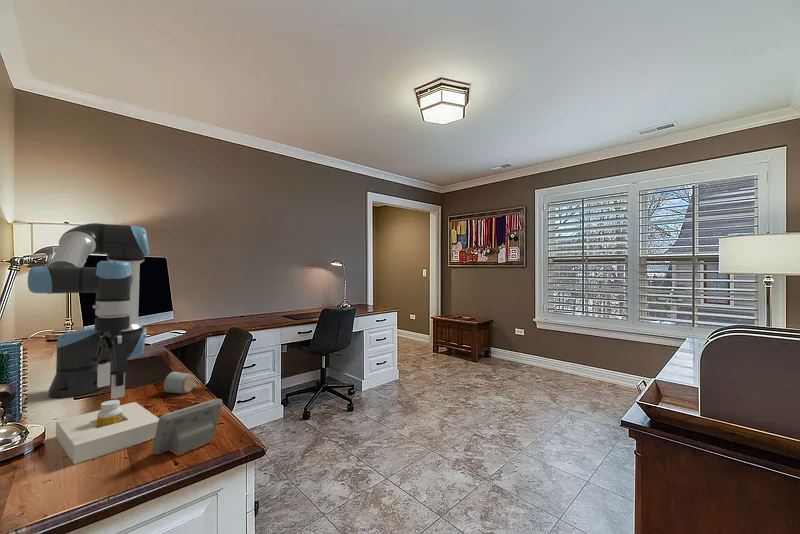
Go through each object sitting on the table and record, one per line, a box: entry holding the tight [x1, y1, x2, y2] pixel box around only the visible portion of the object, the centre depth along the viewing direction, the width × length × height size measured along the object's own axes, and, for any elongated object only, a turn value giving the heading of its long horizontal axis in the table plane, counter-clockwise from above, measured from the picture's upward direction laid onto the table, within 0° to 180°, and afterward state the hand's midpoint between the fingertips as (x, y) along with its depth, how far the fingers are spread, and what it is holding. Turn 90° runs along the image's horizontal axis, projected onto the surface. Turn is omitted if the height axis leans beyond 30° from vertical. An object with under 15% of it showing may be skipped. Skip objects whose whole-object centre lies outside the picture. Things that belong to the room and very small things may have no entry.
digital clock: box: [151, 398, 223, 455], centre depth 91 cm, size 16×9×11 cm, turn 136°
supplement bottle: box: [97, 399, 122, 428], centre depth 95 cm, size 5×5×10 cm
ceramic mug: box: [163, 371, 197, 395], centre depth 133 cm, size 11×8×8 cm
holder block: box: [55, 401, 160, 465], centre depth 95 cm, size 22×18×4 cm
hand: (110, 391), depth 96 cm, fingers open, 13 cm apart
